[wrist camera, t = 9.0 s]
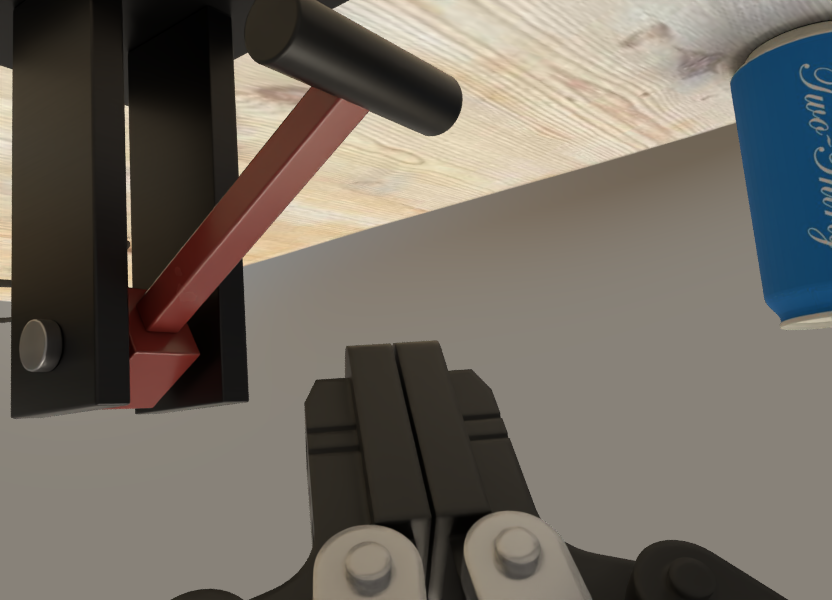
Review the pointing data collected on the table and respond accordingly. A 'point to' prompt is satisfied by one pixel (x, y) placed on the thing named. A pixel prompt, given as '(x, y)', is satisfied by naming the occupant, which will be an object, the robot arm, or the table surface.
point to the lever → (281, 165)
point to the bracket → (117, 191)
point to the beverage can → (790, 170)
